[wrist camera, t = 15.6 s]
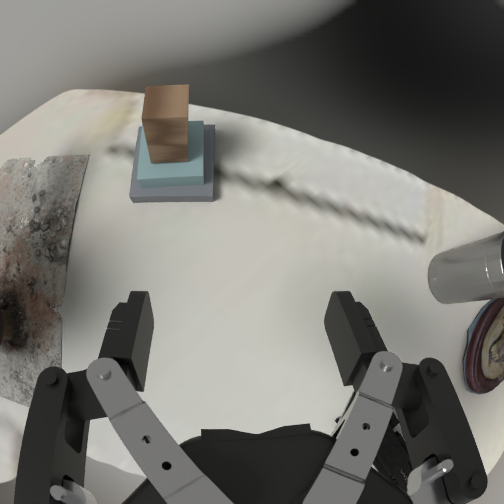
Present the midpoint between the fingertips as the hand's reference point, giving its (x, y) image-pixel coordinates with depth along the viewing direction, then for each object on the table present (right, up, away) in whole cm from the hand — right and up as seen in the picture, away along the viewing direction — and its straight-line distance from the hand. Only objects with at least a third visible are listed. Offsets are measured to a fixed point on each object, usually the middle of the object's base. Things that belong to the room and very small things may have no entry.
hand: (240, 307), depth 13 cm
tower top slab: (-11, +16, +30) cm, 36 cm away
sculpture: (+49, -16, +34) cm, 62 cm away
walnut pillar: (-11, +17, +27) cm, 33 cm away
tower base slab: (-11, +15, +33) cm, 38 cm away
